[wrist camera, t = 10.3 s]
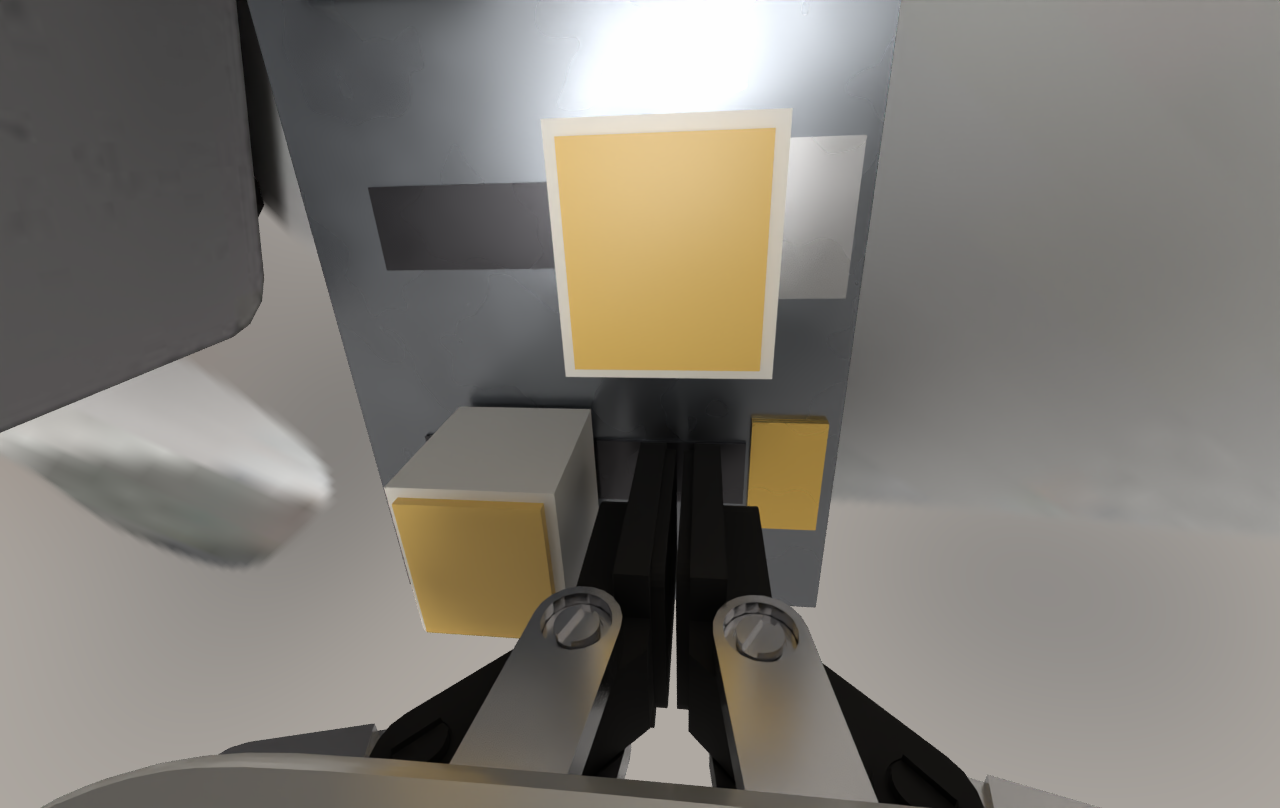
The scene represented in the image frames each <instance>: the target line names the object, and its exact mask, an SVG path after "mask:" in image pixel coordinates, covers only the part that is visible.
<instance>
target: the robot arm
mask: <svg viewBox="0 0 1280 808" xmlns="http://www.w3.org/2000/svg"><path fill="white" fill-rule="evenodd" d="M675 589H676V642H677V643H676V645H677V709H687V710H689V732H690V733H691V734H692V735H693V736H694V738H695V739H696V740H697V741H698V742H699V743H700V744H701V745H702V746H703V747H704V748H705V749H706V750H707V751H708V752H709V768H710V774H711V781H712V787H704V786H693V785H682V784H672V783H661V782H650V781H639V780H627V779H625V775H626V771H627V768H628V764H629V760H630V752H631V743H632V742H634V741H635V740H636V739H637V738H638V737H640V736H641V735H642V734H643V733H645V732H646V731H647V730H648V729H650V727H651V728H654V726H655V716H656V707H660V708H667V707H668V696H669V681H670V679H669V678H670V665H671V664H670V663H671V649H672V634H673V619H674V604H675ZM41 808H1100V807H1097V806H1093V805H1090V804H1087V803H1083V802H1080V801H1076V800H1073V799H1069V798H1066V797H1063V796H1059V795H1055V794H1053V793H1049V792H1046V791H1042V790H1039V789H1035V788H1032V787H1028V786H1025V785H1022V784H1018V783H1015V782H1011V781H1008V780H1005V779H1001V778H998V777H994V776H991V775H987V777H986V779H985V782H982V781H978V780H975V779H972V778H968V777H967V776H966V774H965V773H964V772H963V771H962V770H961V769H960V768H959V767H958V766H957V765H956V764H954V763H953V762H952V761H951V760H950V759H949V758H948V757H947V756H945V755H944V754H943V753H941V752H940V751H939V750H937V749H936V748H935V747H933V746H932V745H931V744H929V743H928V742H927V741H925V740H924V739H923V738H921V737H920V736H919V735H917V734H916V733H915V732H913V731H912V730H911V729H909V728H908V727H907V726H905V725H904V724H903V723H901V722H900V721H899V720H897V719H896V718H895V717H893V716H892V715H891V714H889V713H888V712H887V711H885V710H884V709H883V708H881V707H880V706H879V705H877V704H876V703H875V702H874V701H872V700H871V699H870V698H868V697H867V696H866V695H864V694H863V693H862V692H860V691H859V690H857V689H856V688H855V687H854V686H852V685H851V684H849V683H848V682H847V681H846V680H844V679H843V678H842V677H840V676H839V675H837V674H836V673H835V672H833V671H832V670H831V669H829V668H828V667H827V666H825V665H824V664H823V663H822V661H821V659H820V656H819V654H818V651H817V649H816V646H815V644H814V642H813V639H812V637H811V634H810V632H809V630H808V627H807V625H806V624H805V622H804V620H803V619H802V617H801V616H800V615H799V614H798V613H797V612H796V611H795V610H794V609H793V608H792V607H790V606H788V605H787V604H785V603H783V602H781V601H779V600H777V599H773V598H772V594H771V587H770V581H769V574H768V567H767V560H766V554H765V547H764V540H763V533H762V527H761V520H760V513H759V508H758V506H732V505H723V487H722V468H721V449H720V444H708V443H695V444H694V450H684V461H683V476H682V491H681V506H680V521H679V536H678V551H677V453H676V450H674V449H667V443H660V442H641V444H640V448H639V453H638V457H637V462H636V467H635V471H634V476H633V481H632V485H631V490H630V495H629V499H628V502H612V501H602V502H601V504H600V506H599V509H598V513H597V516H596V520H595V523H594V527H593V530H592V534H591V537H590V540H589V544H588V547H587V551H586V554H585V558H584V561H583V565H582V568H581V572H580V575H579V578H578V582H577V585H576V587H572V588H567V589H563V590H561V591H559V592H556V593H554V594H552V595H551V596H549V597H548V598H547V599H545V600H544V601H543V602H542V603H541V604H540V605H539V606H538V608H537V609H536V610H535V612H534V613H533V615H532V617H531V619H530V620H529V622H528V624H527V626H526V628H525V629H524V631H523V633H522V635H521V637H520V638H519V640H518V642H517V644H516V646H515V648H514V649H513V650H511V651H509V652H508V653H506V654H504V655H503V656H501V657H499V658H498V659H496V660H494V661H493V662H491V663H489V664H488V665H486V666H484V667H483V668H481V669H479V670H478V671H476V672H474V673H473V674H471V675H469V676H468V677H466V678H464V679H463V680H461V681H459V682H458V683H456V684H454V685H453V686H451V687H449V688H448V689H446V690H444V691H443V692H441V693H439V694H438V695H436V696H434V697H433V698H431V699H429V700H428V701H426V702H424V703H423V704H421V705H419V706H418V707H416V708H414V709H412V710H411V711H410V712H407V713H406V714H405V715H403V716H402V717H401V718H399V719H398V720H397V721H396V722H394V723H393V724H391V725H390V726H389V728H388V729H387V730H380V731H377V729H376V726H375V724H368V725H361V726H354V727H348V728H341V729H335V730H328V731H321V732H314V733H307V734H300V735H293V736H287V737H280V738H273V739H266V740H260V741H253V742H248V743H244V744H241V745H238V746H234V747H231V748H229V749H227V750H225V751H224V752H222V753H220V754H218V755H208V756H200V757H194V758H188V759H183V760H176V761H171V762H165V763H160V764H156V765H152V766H149V767H145V768H142V769H138V770H135V771H131V772H128V773H124V774H120V775H117V776H114V777H110V778H107V779H104V780H101V781H99V782H96V783H93V784H90V785H88V786H85V787H82V788H80V789H78V790H75V791H73V792H71V793H69V794H66V795H64V796H62V797H59V798H57V799H55V800H53V801H52V802H50V803H48V804H46V805H45V806H43V807H41Z"/></svg>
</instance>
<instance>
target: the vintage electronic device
mask: <svg viewBox="0 0 1280 808" xmlns="http://www.w3.org/2000/svg"><path fill="white" fill-rule="evenodd" d="M262 209H263V201H262V196H261V192H260V187H259V183H258V181H257V180H256V178H255V177H254V173H253V163H252V153H251V143H250V133H249V124H248V114H247V104H246V94H245V84H244V74H243V64H242V54H241V44H240V34H239V24H238V14H237V5H236V0H0V433H1V432H3V431H5V430H8V429H10V428H13V427H15V426H18V425H20V424H23V423H25V422H27V421H30V420H32V419H35V418H37V417H40V416H42V415H44V414H47V413H49V412H52V411H54V410H57V409H59V408H61V407H64V406H66V405H69V404H71V403H74V402H76V401H78V400H81V399H83V398H86V397H88V396H91V395H93V394H95V393H98V392H100V391H103V390H105V389H108V388H110V387H112V386H115V385H117V384H120V383H122V382H125V381H127V380H129V379H132V378H134V377H137V376H139V375H142V374H144V373H147V372H149V371H151V370H154V369H156V368H159V367H161V366H164V365H166V364H168V363H171V362H173V361H176V360H178V359H181V358H183V357H185V356H188V355H190V354H192V353H195V352H198V351H200V350H202V349H205V348H207V347H210V346H212V345H215V344H217V343H219V342H222V341H224V340H227V339H229V338H232V337H233V336H235V335H236V334H237V333H239V332H240V331H241V330H243V329H244V328H245V327H247V326H248V325H249V324H250V323H251V321H252V319H253V317H254V315H255V313H256V311H257V309H258V307H259V306H260V304H261V302H262V294H263V283H264V273H263V262H262V254H261V243H260V233H259V223H258V217H259V215H260V213H261V211H262Z"/></svg>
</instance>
